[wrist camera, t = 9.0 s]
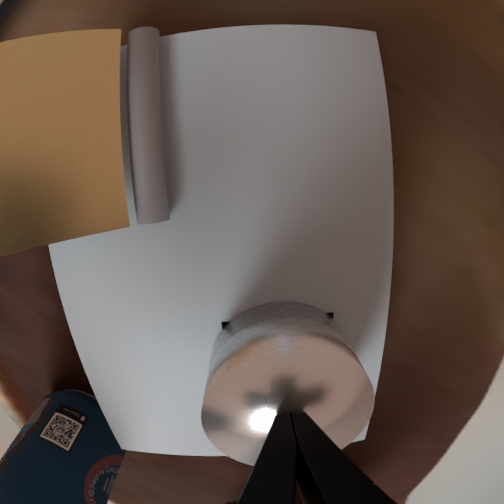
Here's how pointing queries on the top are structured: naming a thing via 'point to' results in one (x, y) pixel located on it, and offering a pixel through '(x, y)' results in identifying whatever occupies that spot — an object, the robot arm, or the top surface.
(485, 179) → the top surface
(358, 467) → the robot arm
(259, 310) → the steel pin
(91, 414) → the soda can
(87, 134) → the plate
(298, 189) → the block
